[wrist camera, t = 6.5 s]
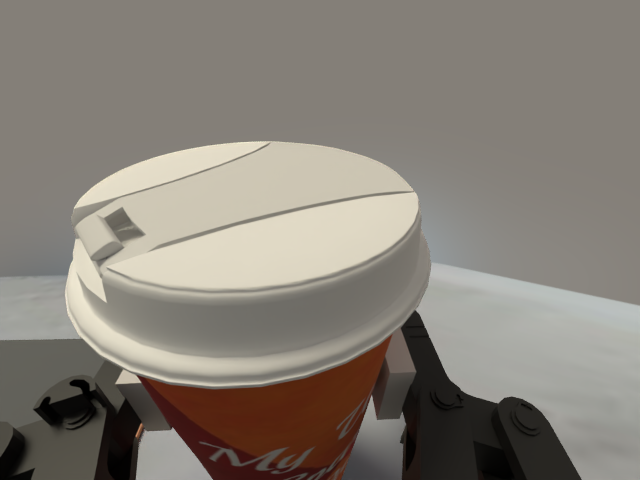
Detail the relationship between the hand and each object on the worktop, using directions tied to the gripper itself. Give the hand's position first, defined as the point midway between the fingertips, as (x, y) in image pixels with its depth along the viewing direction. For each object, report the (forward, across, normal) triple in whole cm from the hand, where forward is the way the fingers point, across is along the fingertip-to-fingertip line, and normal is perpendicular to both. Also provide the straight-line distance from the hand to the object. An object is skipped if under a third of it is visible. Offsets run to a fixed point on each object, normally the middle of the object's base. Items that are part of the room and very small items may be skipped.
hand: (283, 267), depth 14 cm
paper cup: (-5, 0, -8) cm, 9 cm away
